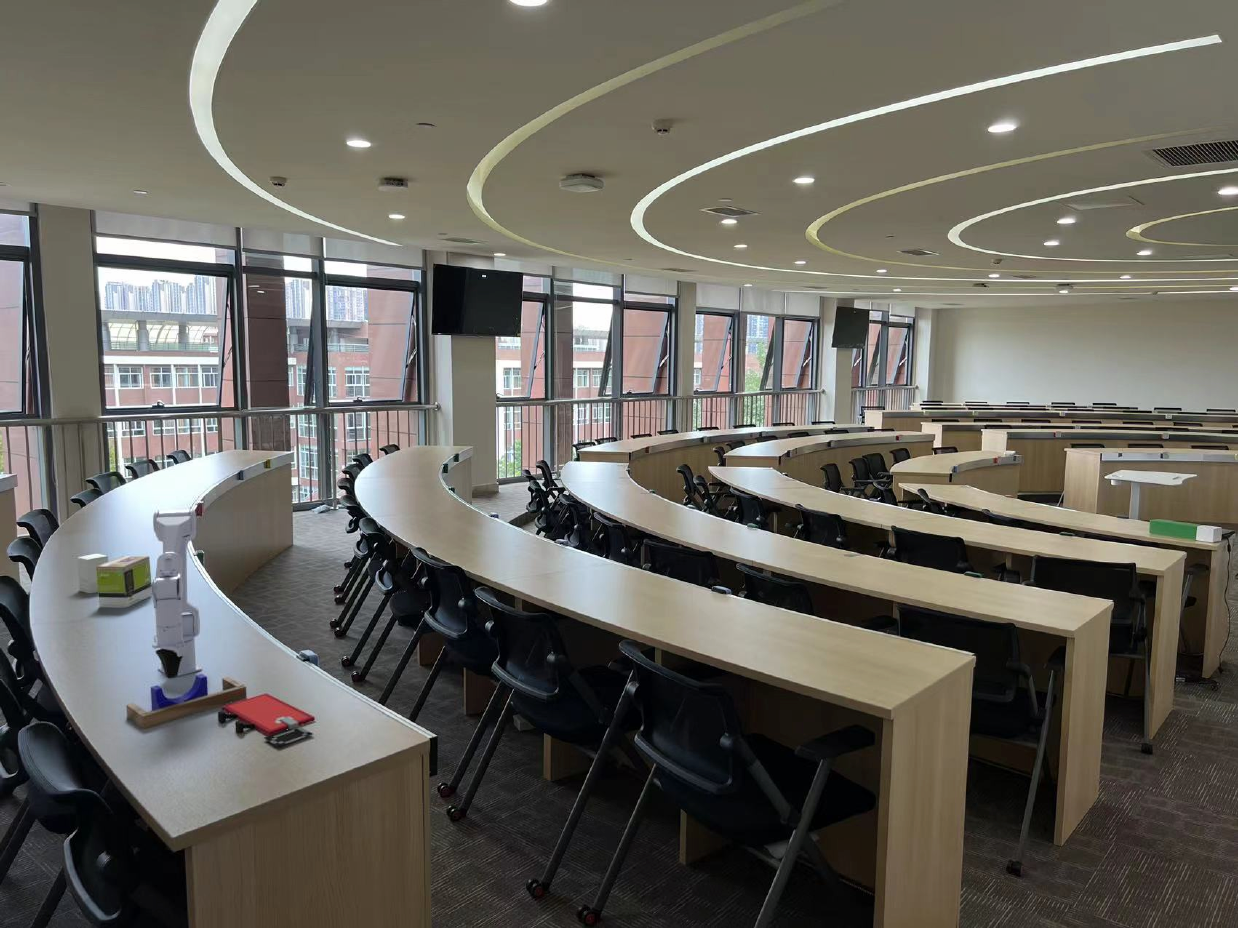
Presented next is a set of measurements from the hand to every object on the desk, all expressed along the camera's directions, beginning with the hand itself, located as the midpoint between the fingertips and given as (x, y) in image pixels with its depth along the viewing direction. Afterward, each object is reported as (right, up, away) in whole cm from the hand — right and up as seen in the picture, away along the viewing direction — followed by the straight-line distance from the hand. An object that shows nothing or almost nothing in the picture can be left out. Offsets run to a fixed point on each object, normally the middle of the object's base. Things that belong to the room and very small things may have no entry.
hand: (171, 676), depth 208 cm
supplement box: (-79, +7, +95) cm, 124 cm away
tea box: (-60, +5, +81) cm, 101 cm away
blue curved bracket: (+5, -6, -4) cm, 9 cm away
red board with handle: (+30, -8, -13) cm, 33 cm away
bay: (+7, -6, -5) cm, 11 cm away
